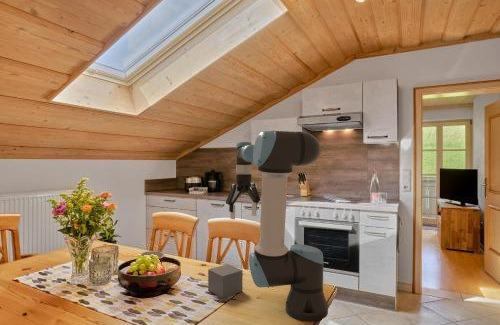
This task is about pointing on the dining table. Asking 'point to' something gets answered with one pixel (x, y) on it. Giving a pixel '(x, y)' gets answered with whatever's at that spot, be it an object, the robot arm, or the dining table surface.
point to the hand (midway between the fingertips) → (243, 217)
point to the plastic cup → (154, 254)
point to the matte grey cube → (225, 280)
